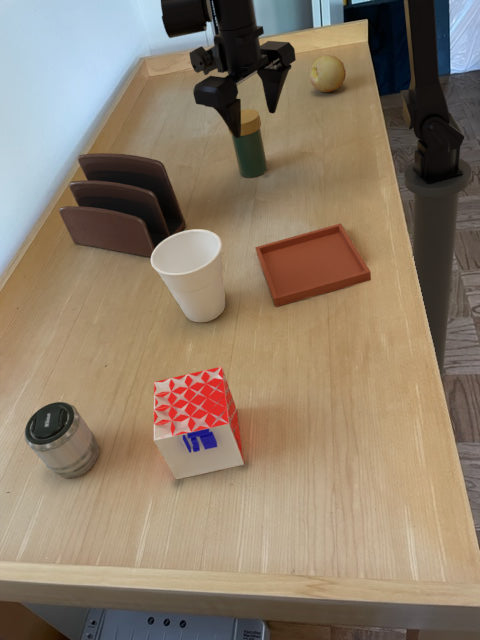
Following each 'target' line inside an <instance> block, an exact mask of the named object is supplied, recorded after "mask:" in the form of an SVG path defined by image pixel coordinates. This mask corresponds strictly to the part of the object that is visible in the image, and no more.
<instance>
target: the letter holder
mask: <svg viewBox="0 0 480 640" xmlns="http://www.w3.org/2000/svg"><path fill="white" fill-rule="evenodd" d="M77 161H78V164H79V166H80V168H81V171H82V173H83V174H84V176H85V179H86V180H84V179H83V180H72V181H70V182H69V184H68V187H69V190H70V192H71V194H72V196H73V198H74V201H75V203H76V204H77V206H74V205H67V206H61V207H59V208H58V213H59V215H60V217H61V219H62V222H63V223H64V226H65V227H66V230H67V232H68V234H69V236H70V238H71V240H72V242H73V243H74V244H77V245H78V244H79V245H83V246H89V247H94V248H99V249H103V250H110V251H116V252H120V253H127V254H131V255H137V256H142V257H150V258H151V255H152V252H153V251H154V249H155V248H156V247H157V246H158V245H159V244H160V243H161V242H162V241H163V240H165V239H166V238H168V237H170V236H172V235H174V234H176V233H179V232H182V231H184V229H185V227H186V226H187V223H186V220H185V217H184V214H183V212H182V209H181V207H180V204H179V202H178V198H177V196H176V192H175V190H174V187H173V185H172V183H171V180H170V178H169V175H168V172H167V169H166V167H165V165H164V162H162V161H160V160H157V159H153V158H150V157H145V156H139V155H133V154H125V153H107V152H106V153H102V152H101V153H97V152H96V153H86V154H85V153H84V154H79V155H78V156H77Z"/></svg>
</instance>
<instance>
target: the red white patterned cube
mask: <svg viewBox="0 0 480 640" xmlns="http://www.w3.org/2000/svg"><path fill="white" fill-rule="evenodd" d="M239 423H240V422H239V415H238V408H237V406H236V403H235V400H234V397H233V394H232V391H231V388H230V386H229V383H228V380H227V377H226V374H225V371H224V369H223V366H222V365H221V366H218V367H213V368H208V369H204V370H200V371H195V372H191V373H187V374H183V375H178V376H173V377H170V378H165V379H160V380H157V381H153V442H154V444H155V446H156V447H157V450H158V451H159V453H160V454H161V456H162V458H163V460H164V461H165V464H166V466H168V469H169V470H170V473H171V474H172V476H173V477H174V480H181V479H186V478H189V477H194V476H199V475H203V474H204V475H205V474H208V473H213V472H217V471H222V470H227V469H230V468H234V467H240V466H244V465H245V458H244V451H243V445H242V438H241V429H240V424H239Z"/></svg>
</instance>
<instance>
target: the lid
mask: <svg viewBox="0 0 480 640" xmlns="http://www.w3.org/2000/svg"><path fill="white" fill-rule="evenodd" d="M261 126H262V121H261V116H260V113H259V111H258V110H256V109H253V108H252V109H251V108H249V109H248V108H247V109H241V136H245V135H249V134H252V133H254V132H256V131H257V130H258V129H259V128H260V129H261ZM227 130H228V133H229V134H230V135H231V134H232V133H231V131H230V129H229V128H228V127H227ZM232 135H233V134H232Z"/></svg>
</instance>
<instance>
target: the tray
mask: <svg viewBox="0 0 480 640" xmlns="http://www.w3.org/2000/svg"><path fill="white" fill-rule="evenodd" d="M254 249H255V253H256V256H257V259H258V262H259V265H260V268H261V270H262V273H263V276H264V279H265V281H266V284H267V287H268V289H269V293H270V296H271V298H272V300H273V303H274V307H280V306H283V305H287V304H291V303H294V302H298V301H301V300H305V299H309V298H312V297H316V296H320V295H324V294H327V293H331V292H334V291H337V290H341V289H345V288H349V287H352V286H356V285H359V284H362V283H366V282H370V281H372V273H371V270H370V268H369V267H368V265H367V263H366V261H365V260H364V258H363V257H362V255H361V253H360V251H358V249H357V247H356V245H355V244H354V242H353V241H352V239H351V237H350V236H349V234H348V232H347V231H346V229H345V227H344V226H343V224H342V223H341V222H340V223H337V224H333V225H329V226H326V227H323V228H319V229H314V230H311V231H308V232H305V233H300V234H298V235H294V236H291V237H287V238H284V239H283V238H282V239H280V240H276V241H272V242H269V243H265V244H262V245H259V246H255V247H254Z"/></svg>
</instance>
